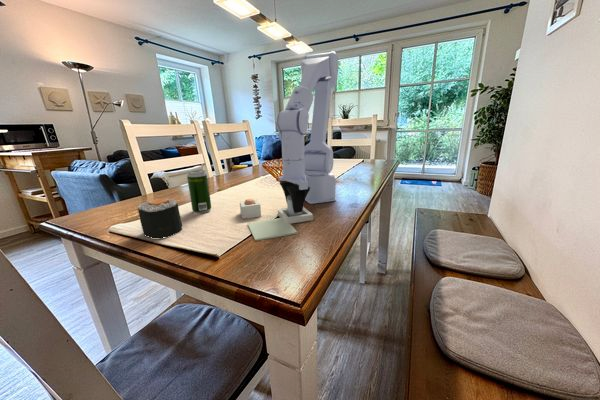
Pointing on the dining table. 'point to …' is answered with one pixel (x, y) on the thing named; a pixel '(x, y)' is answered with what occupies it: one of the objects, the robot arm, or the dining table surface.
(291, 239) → the dining table surface
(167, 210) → the sushi
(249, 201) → the release button
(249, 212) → the button housing
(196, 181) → the beer can
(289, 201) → the cylinder
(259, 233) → the mat
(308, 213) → the dock
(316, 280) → the dining table surface
